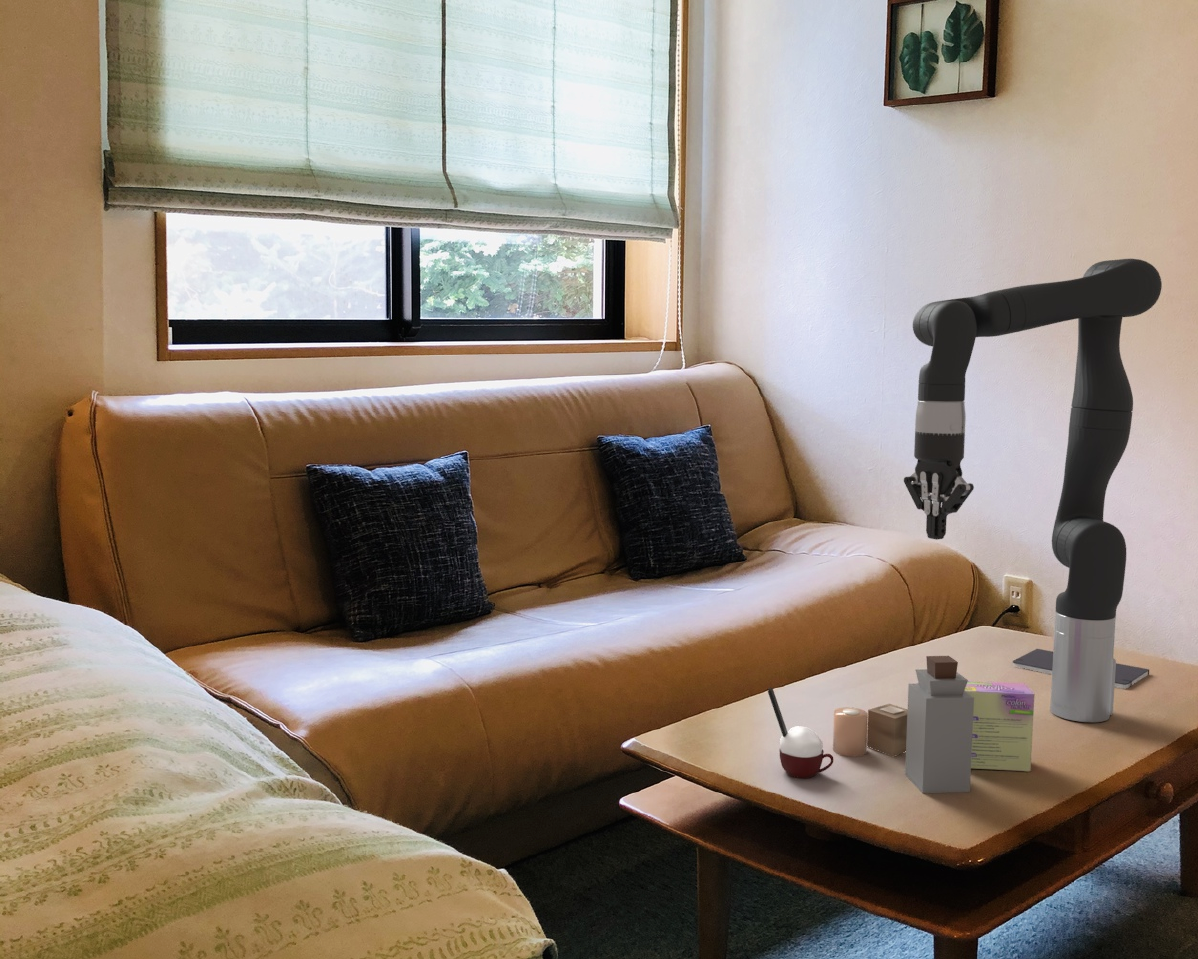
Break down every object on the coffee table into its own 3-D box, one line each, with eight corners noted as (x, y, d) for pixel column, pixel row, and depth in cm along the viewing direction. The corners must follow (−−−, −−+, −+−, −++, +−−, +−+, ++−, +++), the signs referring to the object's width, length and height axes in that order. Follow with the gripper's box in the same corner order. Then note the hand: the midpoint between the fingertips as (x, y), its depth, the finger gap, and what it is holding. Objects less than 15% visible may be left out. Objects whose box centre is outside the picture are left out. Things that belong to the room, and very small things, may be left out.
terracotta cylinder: (850, 742, 173) (851, 704, 173) (873, 753, 169) (874, 713, 168) (826, 748, 171) (827, 709, 170) (848, 759, 167) (849, 719, 166)
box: (1020, 758, 167) (1024, 681, 166) (1031, 772, 162) (1035, 693, 160) (949, 755, 168) (952, 679, 167) (957, 769, 163) (961, 691, 161)
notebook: (1149, 677, 210) (1036, 656, 224) (1149, 669, 210) (1036, 648, 224) (1126, 692, 201) (1010, 669, 215) (1126, 684, 201) (1010, 661, 215)
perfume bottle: (905, 774, 161) (909, 653, 158) (950, 773, 161) (955, 652, 159) (922, 793, 154) (927, 666, 152) (969, 791, 154) (975, 665, 152)
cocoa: (836, 777, 160) (843, 697, 159) (813, 789, 156) (821, 706, 154) (780, 758, 167) (787, 680, 165) (757, 768, 162) (763, 689, 160)
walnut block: (887, 740, 174) (889, 702, 174) (914, 750, 170) (915, 710, 170) (866, 747, 171) (868, 708, 171) (893, 757, 168) (894, 717, 167)
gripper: (990, 431, 171) (985, 543, 173) (925, 426, 182) (921, 530, 184) (955, 433, 167) (950, 547, 169) (891, 427, 179) (888, 534, 181)
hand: (935, 538), depth 177 cm, fingers closed
